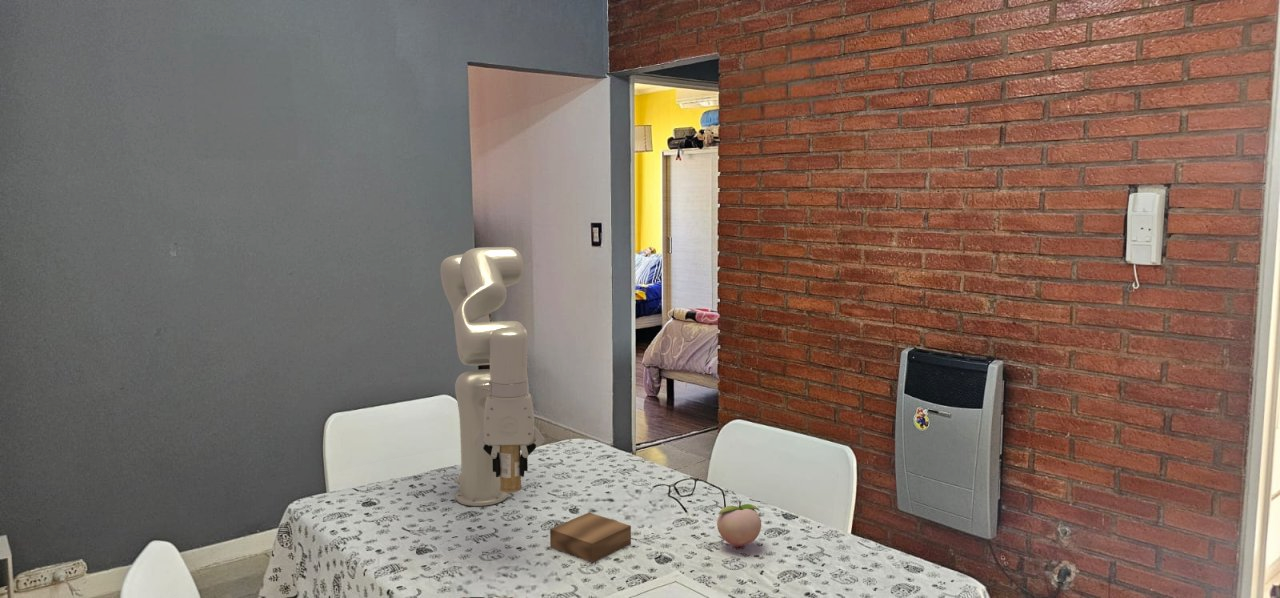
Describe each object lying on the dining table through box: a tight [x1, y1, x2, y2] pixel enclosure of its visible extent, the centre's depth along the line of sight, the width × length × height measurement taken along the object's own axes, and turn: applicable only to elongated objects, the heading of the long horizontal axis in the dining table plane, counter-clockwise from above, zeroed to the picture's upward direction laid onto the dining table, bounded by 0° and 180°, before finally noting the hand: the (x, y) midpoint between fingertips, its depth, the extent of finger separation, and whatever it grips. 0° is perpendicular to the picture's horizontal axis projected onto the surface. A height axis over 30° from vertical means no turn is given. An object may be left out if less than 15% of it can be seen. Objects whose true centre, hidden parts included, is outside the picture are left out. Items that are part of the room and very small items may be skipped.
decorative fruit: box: [716, 501, 762, 548], centre depth 176 cm, size 9×8×10 cm
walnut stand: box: [549, 512, 632, 564], centre depth 178 cm, size 12×12×4 cm
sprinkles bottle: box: [499, 445, 522, 494], centre depth 174 cm, size 5×5×14 cm
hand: (510, 473), depth 175 cm, fingers closed on sprinkles bottle, 4 cm apart
